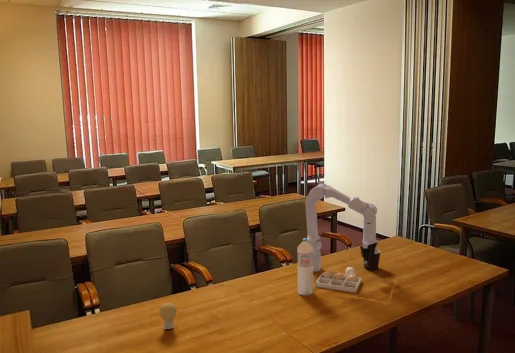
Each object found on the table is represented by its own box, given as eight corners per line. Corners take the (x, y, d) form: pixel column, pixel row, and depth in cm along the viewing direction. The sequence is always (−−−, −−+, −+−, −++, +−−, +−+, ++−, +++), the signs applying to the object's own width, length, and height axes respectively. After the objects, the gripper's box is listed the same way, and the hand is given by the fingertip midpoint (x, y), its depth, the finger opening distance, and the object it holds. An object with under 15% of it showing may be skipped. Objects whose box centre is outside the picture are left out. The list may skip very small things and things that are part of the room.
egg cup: (342, 279, 208) (343, 276, 208) (345, 275, 213) (345, 271, 213) (354, 281, 206) (354, 277, 205) (357, 276, 211) (357, 273, 210)
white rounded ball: (344, 277, 208) (344, 268, 207) (346, 273, 212) (346, 265, 211) (353, 278, 206) (353, 269, 205) (355, 275, 210) (355, 266, 209)
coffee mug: (382, 273, 214) (382, 253, 212) (364, 273, 214) (364, 253, 213) (376, 264, 226) (376, 245, 224) (359, 264, 226) (359, 246, 224)
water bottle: (295, 294, 193) (294, 240, 189) (301, 288, 199) (300, 235, 195) (309, 297, 190) (309, 242, 186) (315, 291, 196) (315, 237, 192)
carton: (315, 288, 199) (315, 277, 198) (322, 278, 210) (322, 268, 209) (355, 294, 191) (355, 283, 190) (361, 283, 202) (361, 273, 202)
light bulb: (170, 322, 171) (168, 298, 170) (181, 327, 167) (179, 302, 166) (157, 329, 166) (155, 304, 165) (167, 334, 162) (166, 309, 161)
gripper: (373, 236, 196) (373, 264, 199) (382, 227, 209) (381, 254, 211) (358, 234, 200) (357, 262, 202) (367, 225, 212) (366, 252, 214)
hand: (368, 258), depth 207 cm, fingers open, 7 cm apart
